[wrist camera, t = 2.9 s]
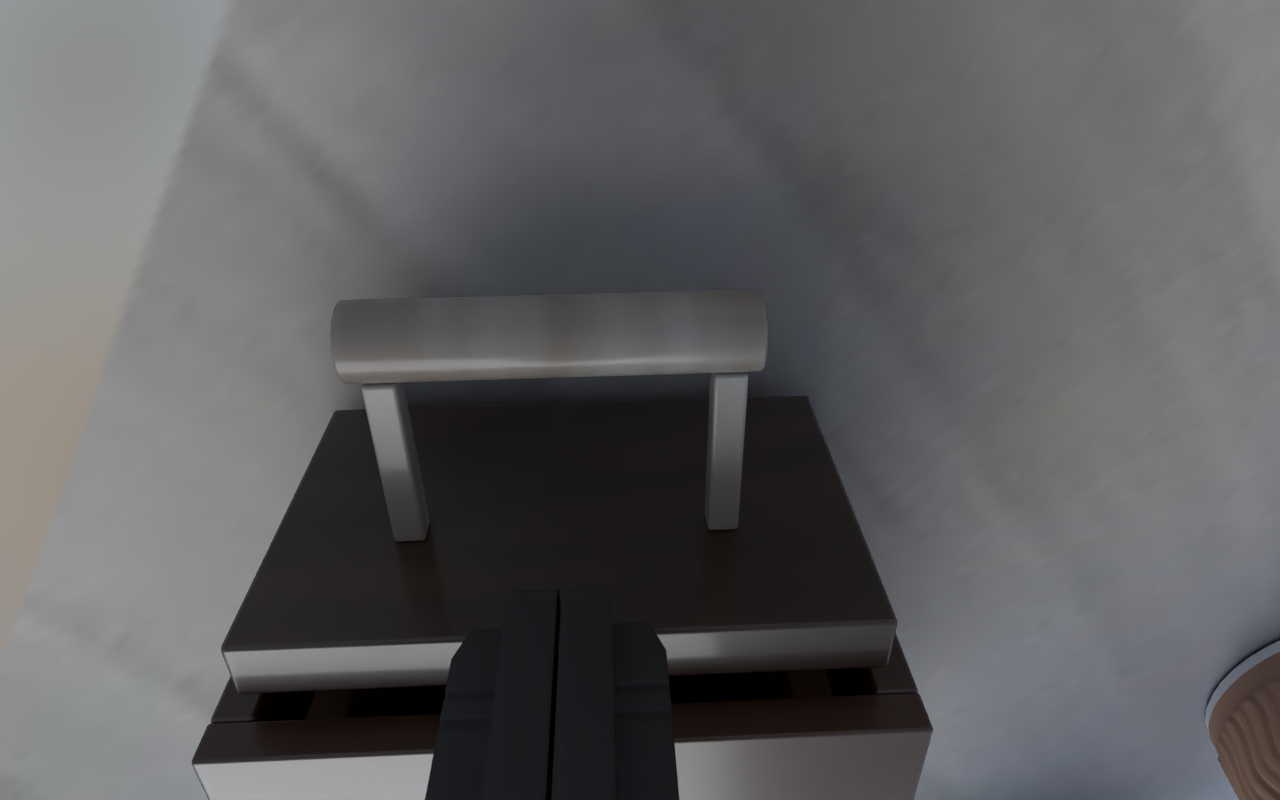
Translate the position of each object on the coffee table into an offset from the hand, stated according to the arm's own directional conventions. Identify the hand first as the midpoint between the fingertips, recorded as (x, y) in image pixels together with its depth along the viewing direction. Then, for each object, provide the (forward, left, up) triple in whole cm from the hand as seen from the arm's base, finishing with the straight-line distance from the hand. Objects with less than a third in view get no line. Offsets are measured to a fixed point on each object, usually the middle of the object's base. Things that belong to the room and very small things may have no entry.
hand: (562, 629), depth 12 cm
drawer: (+4, -4, -8) cm, 10 cm away
